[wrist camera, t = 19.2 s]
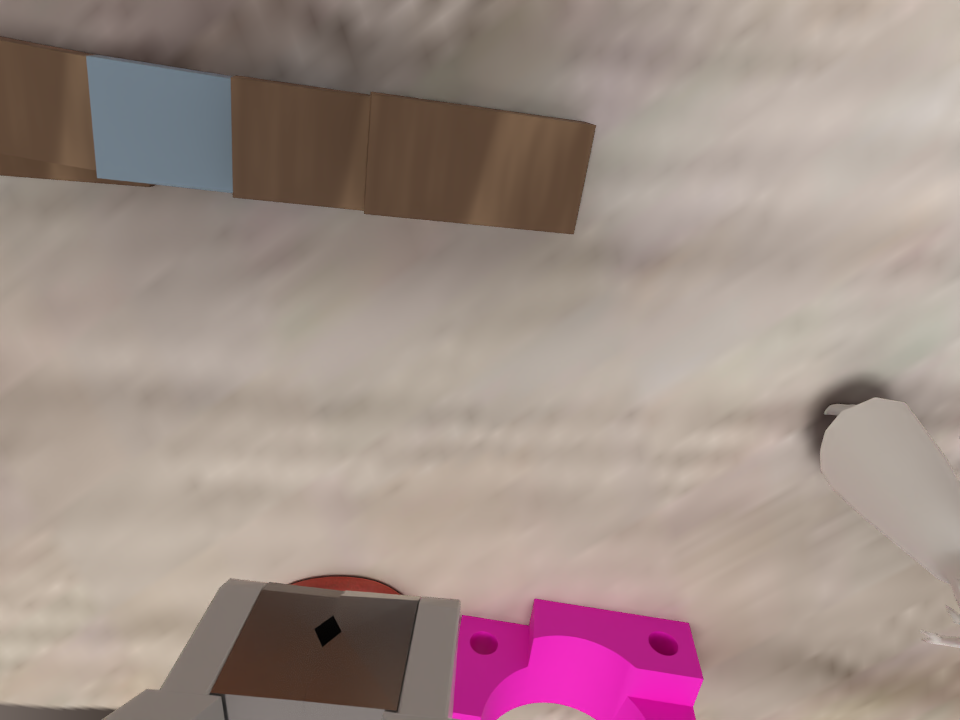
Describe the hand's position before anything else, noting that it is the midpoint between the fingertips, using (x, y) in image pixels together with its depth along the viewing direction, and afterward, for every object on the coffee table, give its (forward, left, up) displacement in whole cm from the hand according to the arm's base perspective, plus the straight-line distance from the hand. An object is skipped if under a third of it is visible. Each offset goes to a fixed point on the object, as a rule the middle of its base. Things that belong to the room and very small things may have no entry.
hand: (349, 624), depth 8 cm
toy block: (+7, -28, -27) cm, 40 cm away
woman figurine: (+20, -10, -26) cm, 35 cm away
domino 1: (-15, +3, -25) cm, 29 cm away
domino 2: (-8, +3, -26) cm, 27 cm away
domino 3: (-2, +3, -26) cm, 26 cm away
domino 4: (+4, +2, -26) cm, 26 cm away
